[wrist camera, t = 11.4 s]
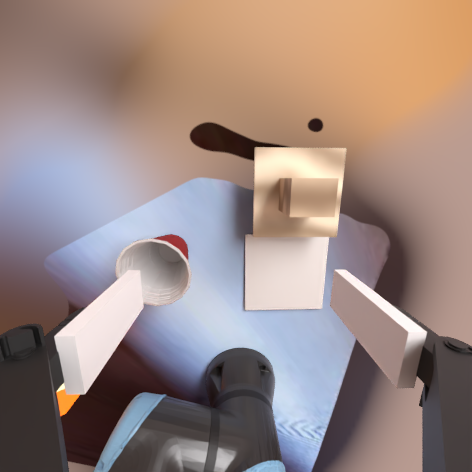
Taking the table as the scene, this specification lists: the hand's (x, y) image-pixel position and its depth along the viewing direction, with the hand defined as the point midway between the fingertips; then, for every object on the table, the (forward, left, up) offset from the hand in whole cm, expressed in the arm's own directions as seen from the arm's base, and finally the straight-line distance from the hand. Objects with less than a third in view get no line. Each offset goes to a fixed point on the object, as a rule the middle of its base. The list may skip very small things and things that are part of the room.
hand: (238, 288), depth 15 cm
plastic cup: (-6, +12, -29) cm, 31 cm away
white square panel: (-11, -10, -28) cm, 32 cm away
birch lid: (+5, -10, -23) cm, 26 cm away
